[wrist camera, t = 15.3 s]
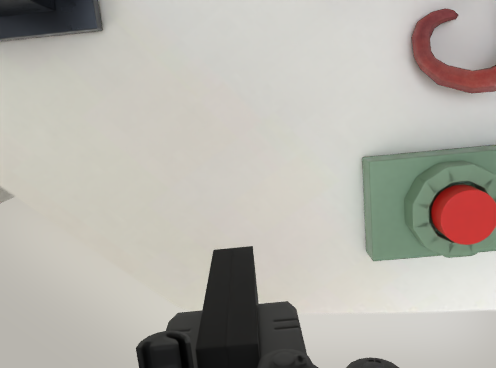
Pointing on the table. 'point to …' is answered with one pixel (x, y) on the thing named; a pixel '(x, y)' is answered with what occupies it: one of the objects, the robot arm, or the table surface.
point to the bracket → (47, 18)
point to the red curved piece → (440, 71)
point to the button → (464, 214)
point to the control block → (421, 200)
